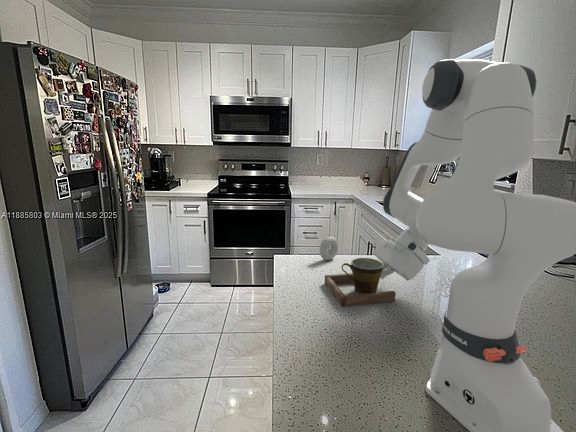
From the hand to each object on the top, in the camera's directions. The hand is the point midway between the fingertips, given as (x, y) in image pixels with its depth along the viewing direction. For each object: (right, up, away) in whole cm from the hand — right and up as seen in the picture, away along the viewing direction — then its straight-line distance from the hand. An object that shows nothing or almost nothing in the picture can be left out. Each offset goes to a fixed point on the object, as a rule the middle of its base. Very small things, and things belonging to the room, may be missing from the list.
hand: (378, 276), depth 104 cm
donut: (-13, +1, +28) cm, 31 cm away
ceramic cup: (-6, -5, 0) cm, 8 cm away
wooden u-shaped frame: (-6, -5, 0) cm, 8 cm away
